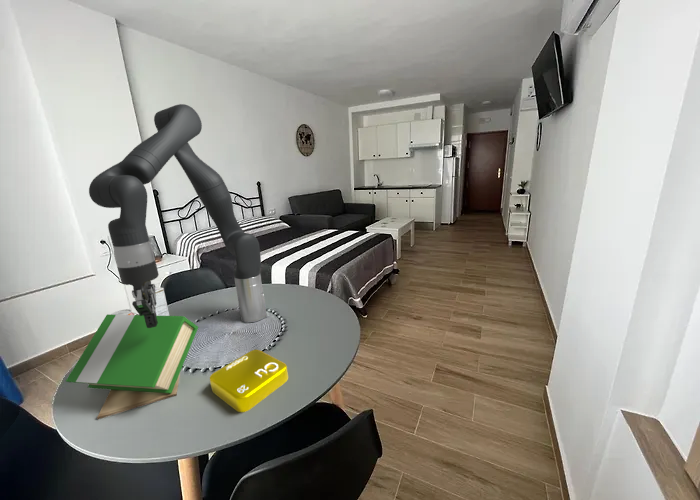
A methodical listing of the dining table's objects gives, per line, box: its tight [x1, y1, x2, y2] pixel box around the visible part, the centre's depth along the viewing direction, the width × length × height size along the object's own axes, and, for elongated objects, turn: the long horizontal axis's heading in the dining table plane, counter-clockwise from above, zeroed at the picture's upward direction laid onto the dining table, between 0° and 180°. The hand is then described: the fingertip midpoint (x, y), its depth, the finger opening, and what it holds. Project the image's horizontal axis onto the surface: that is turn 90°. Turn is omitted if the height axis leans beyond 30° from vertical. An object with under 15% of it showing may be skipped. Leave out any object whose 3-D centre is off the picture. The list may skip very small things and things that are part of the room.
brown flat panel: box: [96, 373, 181, 420], centre depth 77 cm, size 16×14×1 cm
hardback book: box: [65, 314, 199, 394], centre depth 78 cm, size 18×7×24 cm
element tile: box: [209, 349, 289, 413], centre depth 76 cm, size 15×15×5 cm
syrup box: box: [155, 286, 170, 316], centre depth 108 cm, size 6×6×14 cm
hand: (152, 326), depth 74 cm, fingers closed
